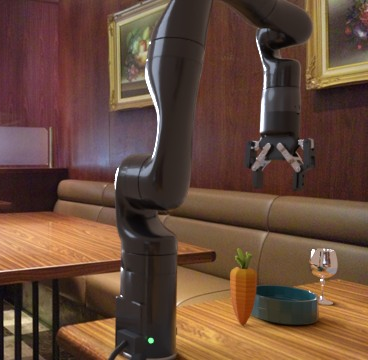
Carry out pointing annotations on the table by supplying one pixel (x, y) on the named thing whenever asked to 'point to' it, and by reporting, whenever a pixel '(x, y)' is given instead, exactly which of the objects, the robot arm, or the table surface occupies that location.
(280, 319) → the bowl
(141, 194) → the robot arm
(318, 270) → the wineglass
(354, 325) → the table surface
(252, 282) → the carrot
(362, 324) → the table surface
